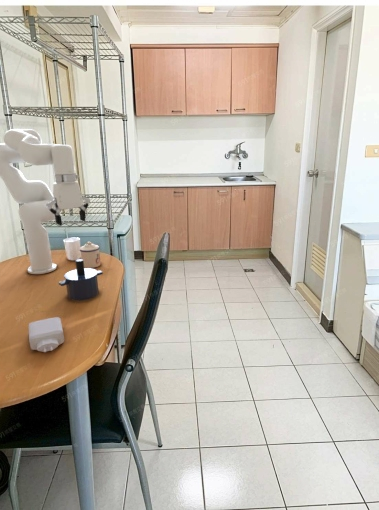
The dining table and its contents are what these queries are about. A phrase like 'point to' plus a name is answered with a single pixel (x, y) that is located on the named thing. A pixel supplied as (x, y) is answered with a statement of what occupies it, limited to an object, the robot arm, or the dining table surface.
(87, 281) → the pot
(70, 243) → the white cup
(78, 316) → the dining table surface
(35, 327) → the charger
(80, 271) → the pot lid
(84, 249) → the teacup with lid
